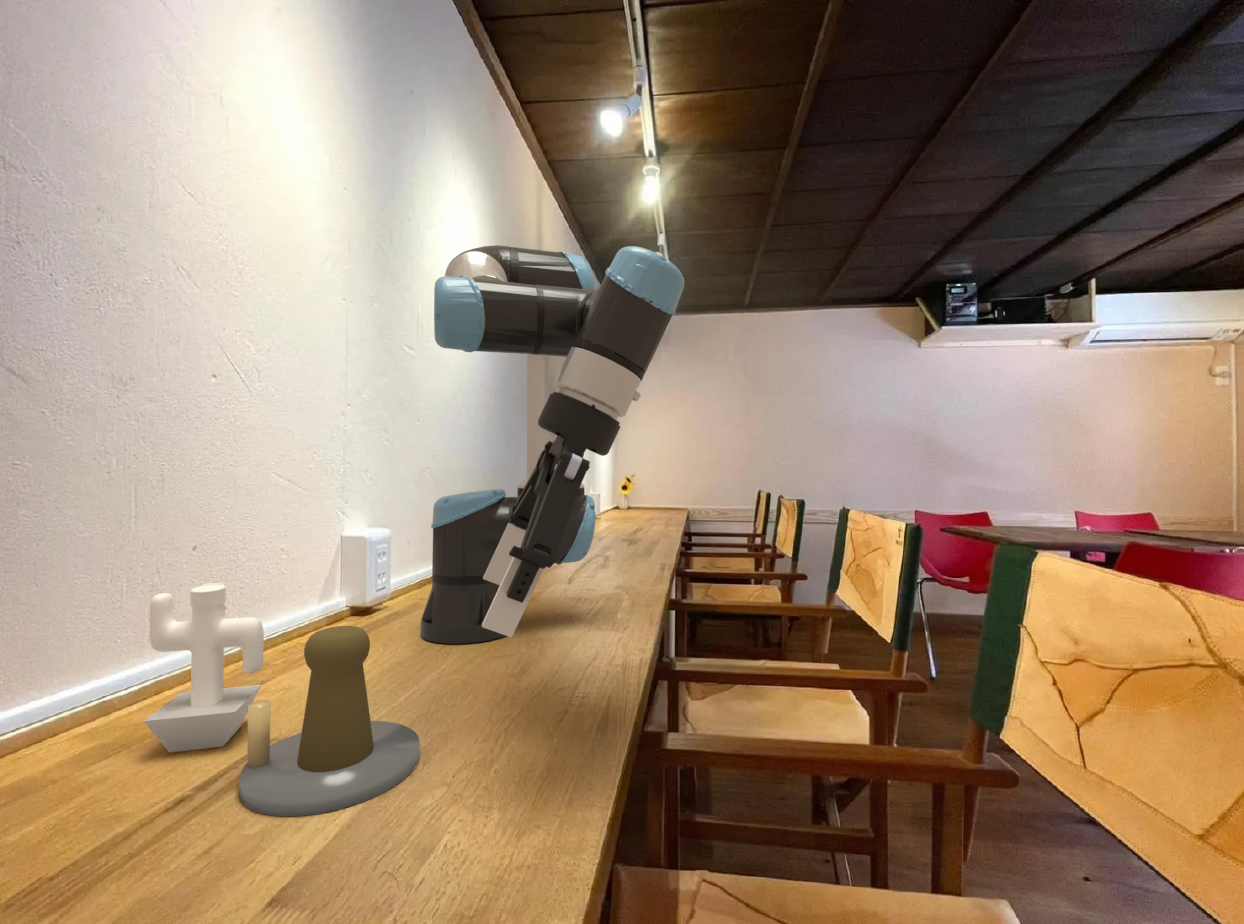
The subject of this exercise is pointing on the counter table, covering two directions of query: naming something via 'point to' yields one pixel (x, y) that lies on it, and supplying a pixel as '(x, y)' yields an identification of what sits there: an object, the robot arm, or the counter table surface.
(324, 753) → the brown rounded upright piece
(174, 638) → the figurine
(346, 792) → the coaster plate
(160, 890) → the counter table surface
